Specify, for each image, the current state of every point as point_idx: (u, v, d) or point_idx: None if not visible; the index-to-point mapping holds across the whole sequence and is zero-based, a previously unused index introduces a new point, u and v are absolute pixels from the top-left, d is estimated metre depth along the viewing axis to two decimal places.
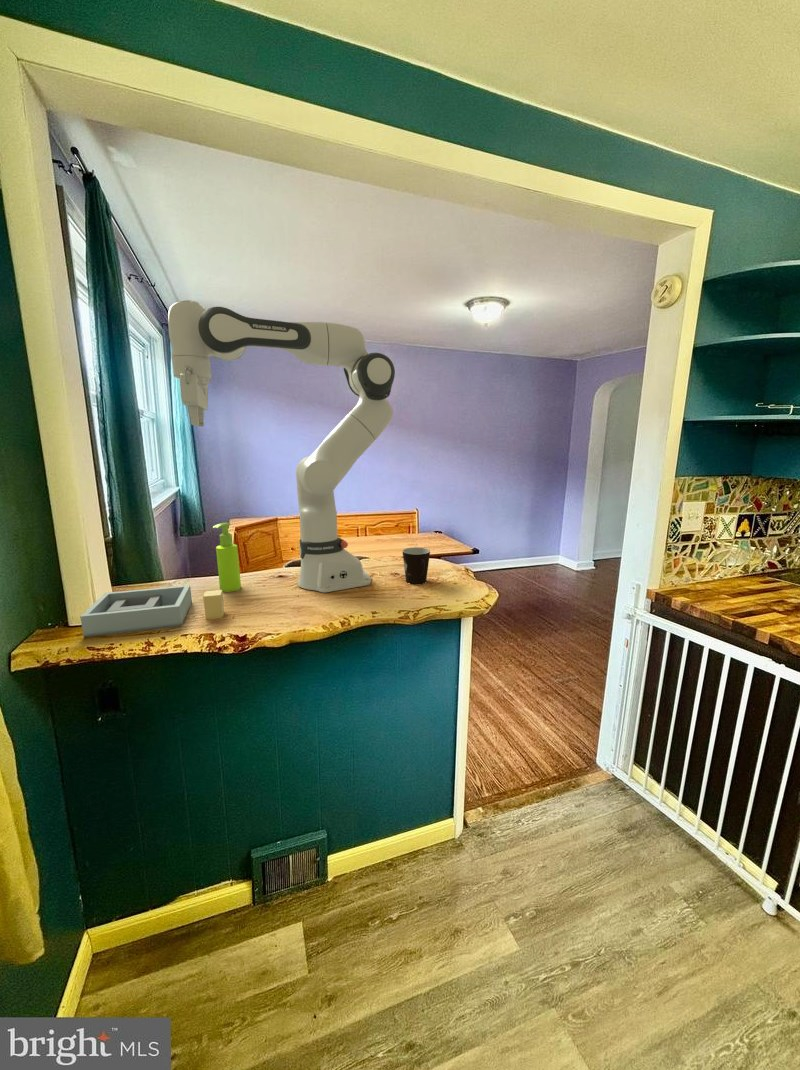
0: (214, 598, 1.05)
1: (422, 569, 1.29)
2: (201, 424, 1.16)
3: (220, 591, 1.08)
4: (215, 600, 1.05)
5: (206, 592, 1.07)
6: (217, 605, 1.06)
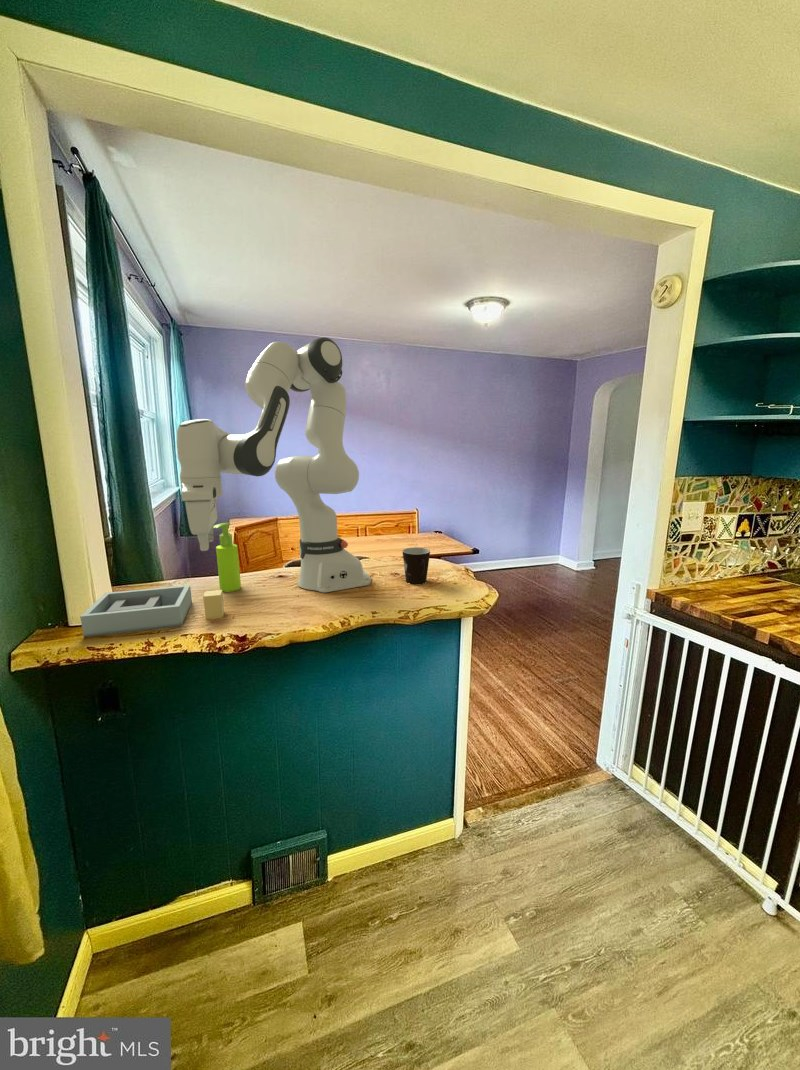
0: (214, 598, 1.05)
1: (422, 569, 1.29)
2: None
3: (220, 591, 1.08)
4: (215, 600, 1.05)
5: (206, 592, 1.07)
6: (217, 605, 1.06)
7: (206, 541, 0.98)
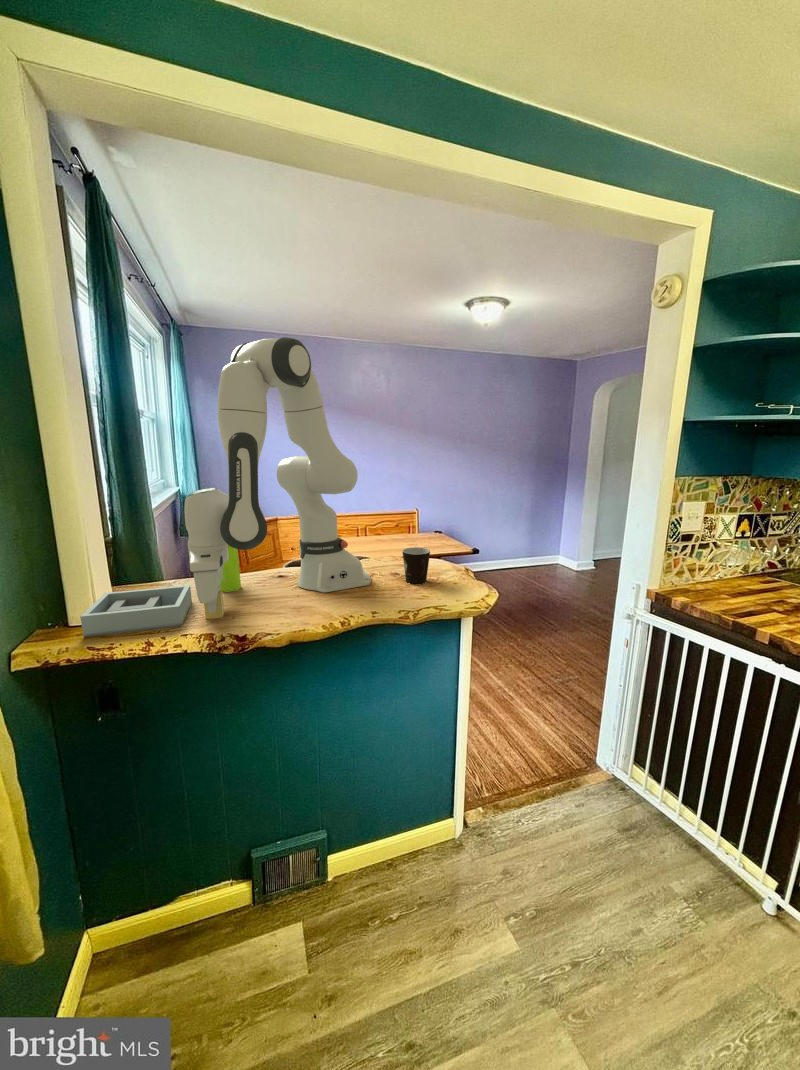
0: None
1: (422, 569, 1.29)
2: None
3: (220, 591, 1.08)
4: None
5: None
6: (217, 605, 1.06)
7: (214, 603, 1.03)
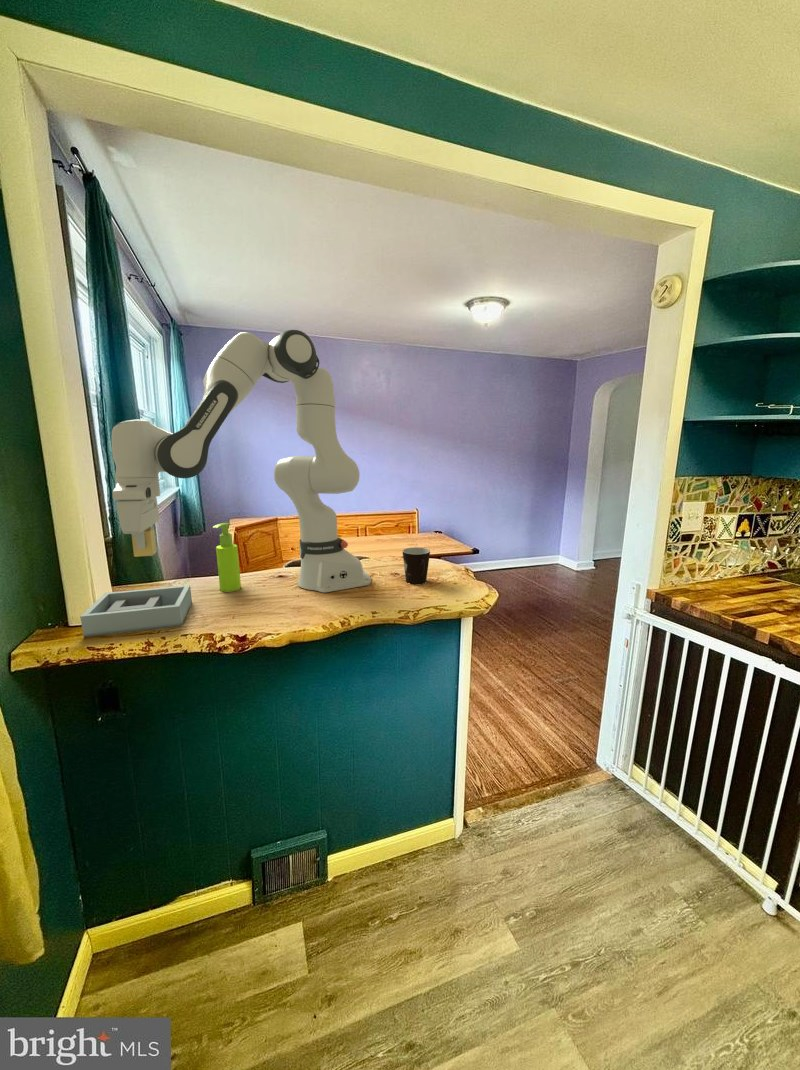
0: (144, 535, 1.02)
1: (422, 569, 1.29)
2: None
3: (151, 529, 1.04)
4: None
5: None
6: (147, 542, 1.02)
7: (142, 539, 1.00)
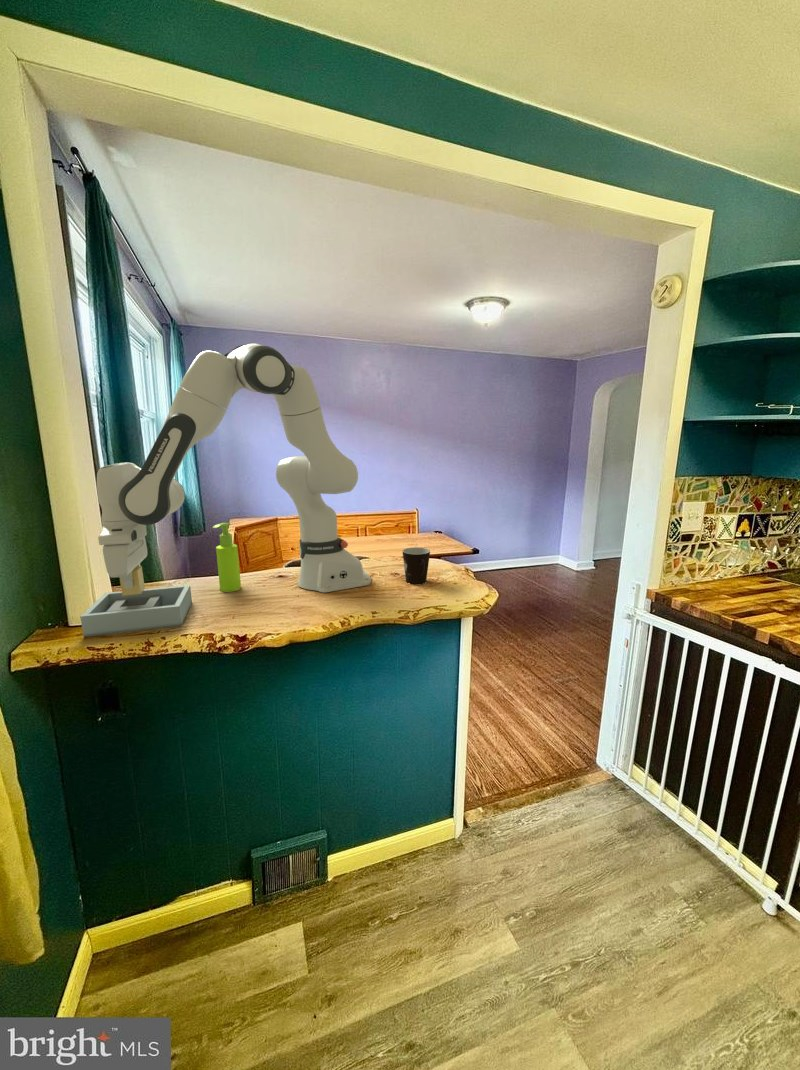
0: (131, 574, 1.04)
1: (422, 569, 1.29)
2: None
3: (139, 567, 1.07)
4: None
5: None
6: (134, 581, 1.04)
7: (130, 579, 1.02)
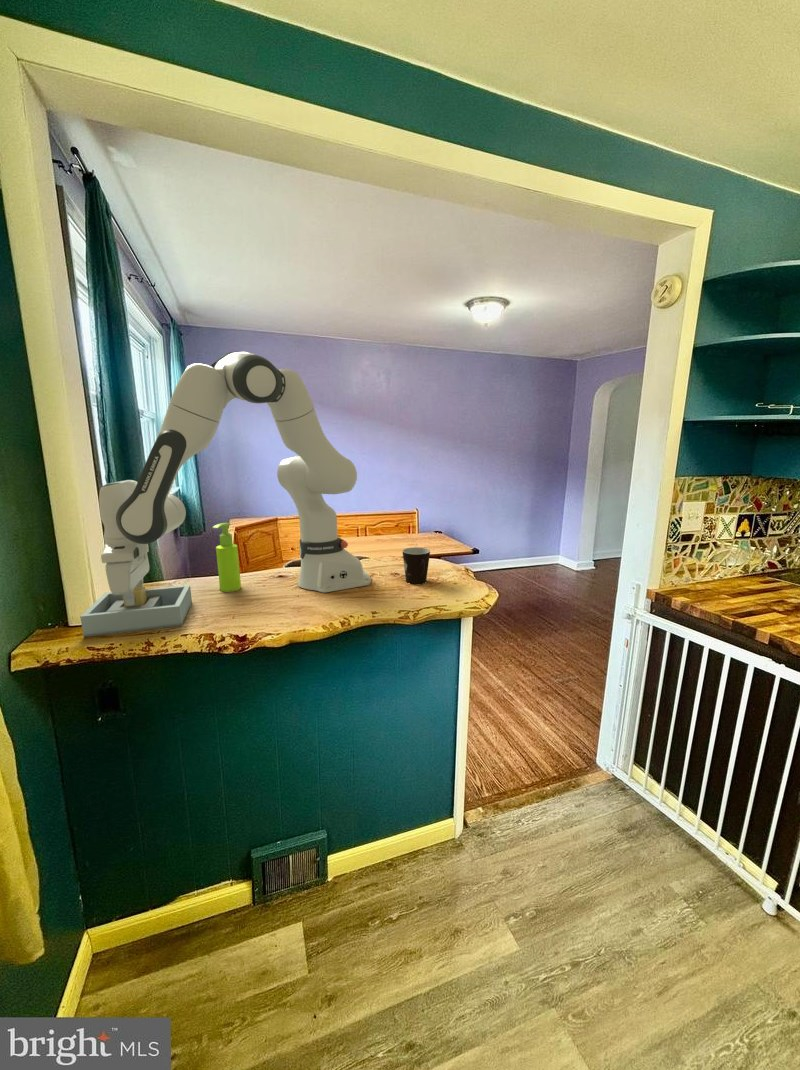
0: (134, 595, 1.05)
1: (422, 569, 1.29)
2: None
3: (142, 588, 1.08)
4: (135, 597, 1.05)
5: None
6: (138, 602, 1.06)
7: (131, 597, 1.03)
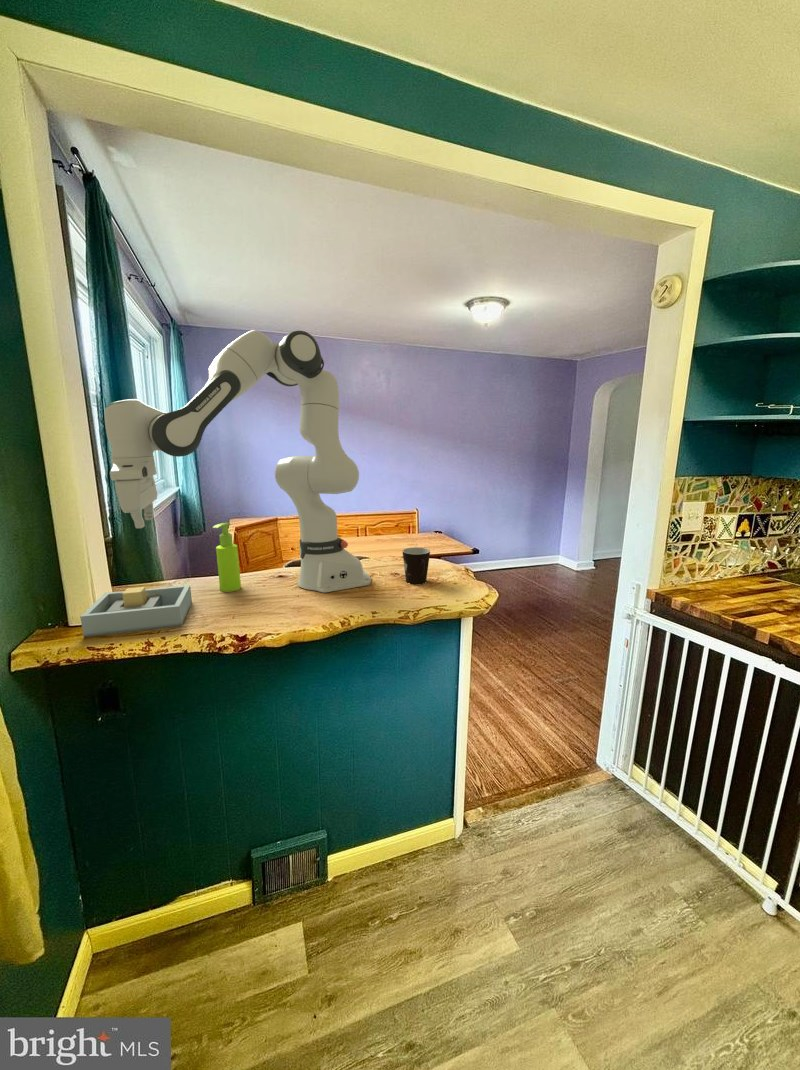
0: (134, 595, 1.05)
1: (422, 569, 1.29)
2: None
3: (142, 588, 1.08)
4: (135, 597, 1.05)
5: (127, 589, 1.07)
6: (138, 602, 1.06)
7: (140, 519, 1.02)
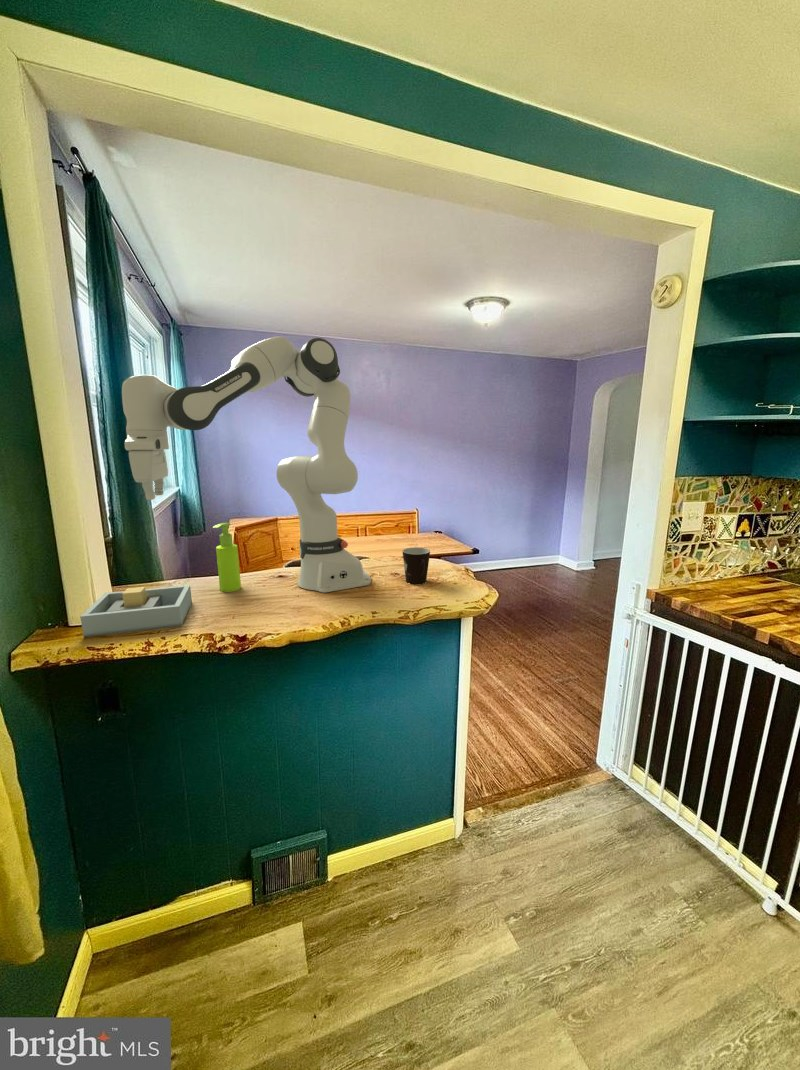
0: (134, 595, 1.05)
1: (422, 569, 1.29)
2: None
3: (142, 588, 1.08)
4: (135, 597, 1.05)
5: (127, 589, 1.07)
6: (138, 602, 1.06)
7: (151, 490, 1.04)
